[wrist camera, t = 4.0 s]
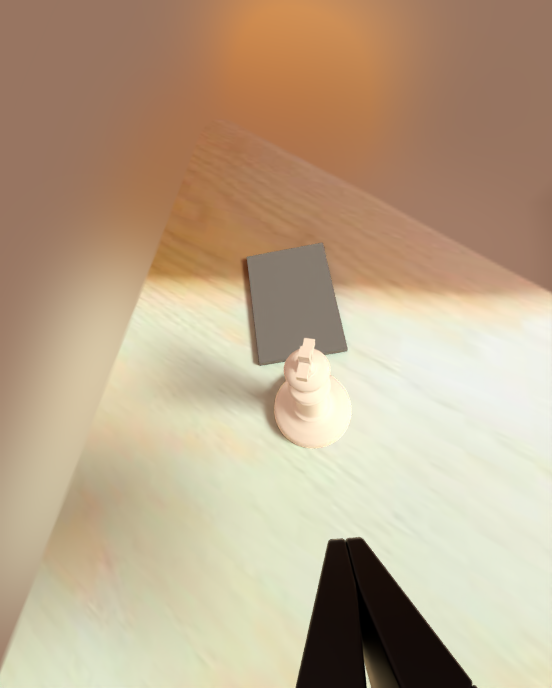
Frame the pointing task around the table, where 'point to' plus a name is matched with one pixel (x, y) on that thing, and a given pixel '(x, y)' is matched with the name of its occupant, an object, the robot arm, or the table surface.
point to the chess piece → (311, 400)
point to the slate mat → (294, 303)
